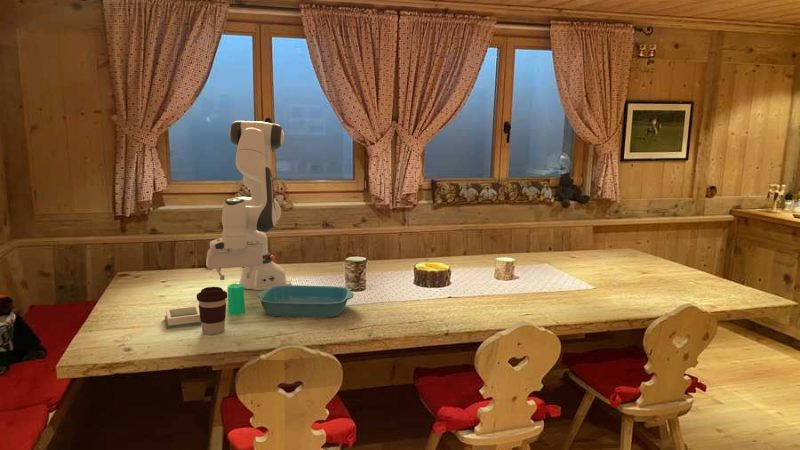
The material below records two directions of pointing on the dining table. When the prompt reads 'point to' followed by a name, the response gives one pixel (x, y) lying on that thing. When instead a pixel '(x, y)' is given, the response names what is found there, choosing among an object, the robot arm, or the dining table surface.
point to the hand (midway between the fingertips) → (235, 278)
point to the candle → (236, 299)
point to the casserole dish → (304, 300)
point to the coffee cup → (212, 309)
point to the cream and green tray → (182, 317)
